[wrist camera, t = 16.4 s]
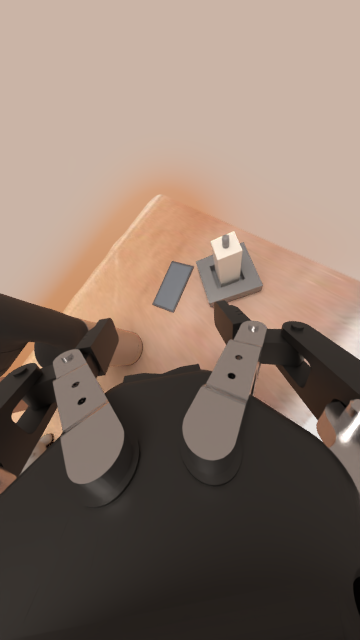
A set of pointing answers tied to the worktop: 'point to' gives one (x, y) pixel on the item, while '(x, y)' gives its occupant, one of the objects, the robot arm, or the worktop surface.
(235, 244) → the white block with peg
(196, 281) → the worktop surface
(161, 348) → the worktop surface
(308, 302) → the worktop surface
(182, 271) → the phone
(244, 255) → the block
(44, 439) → the toy rhinoceros
